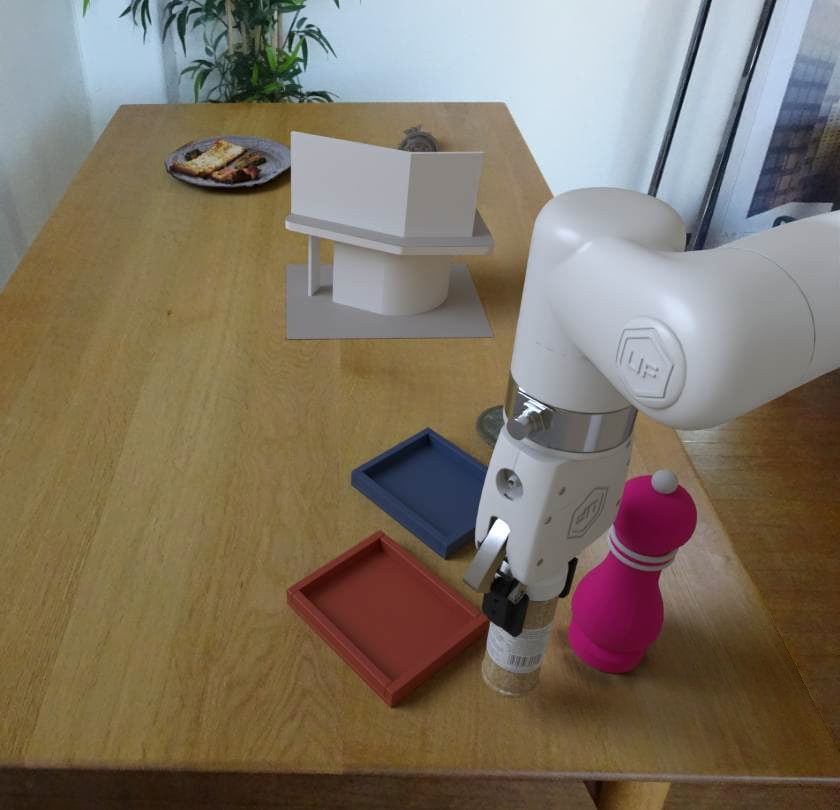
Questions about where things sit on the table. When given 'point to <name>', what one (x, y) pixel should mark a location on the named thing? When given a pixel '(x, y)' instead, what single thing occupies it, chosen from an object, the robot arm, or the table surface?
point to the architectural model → (384, 242)
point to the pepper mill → (631, 574)
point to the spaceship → (418, 141)
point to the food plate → (229, 161)
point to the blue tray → (426, 489)
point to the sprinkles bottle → (523, 640)
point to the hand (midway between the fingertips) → (525, 602)
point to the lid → (490, 424)
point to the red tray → (386, 615)
